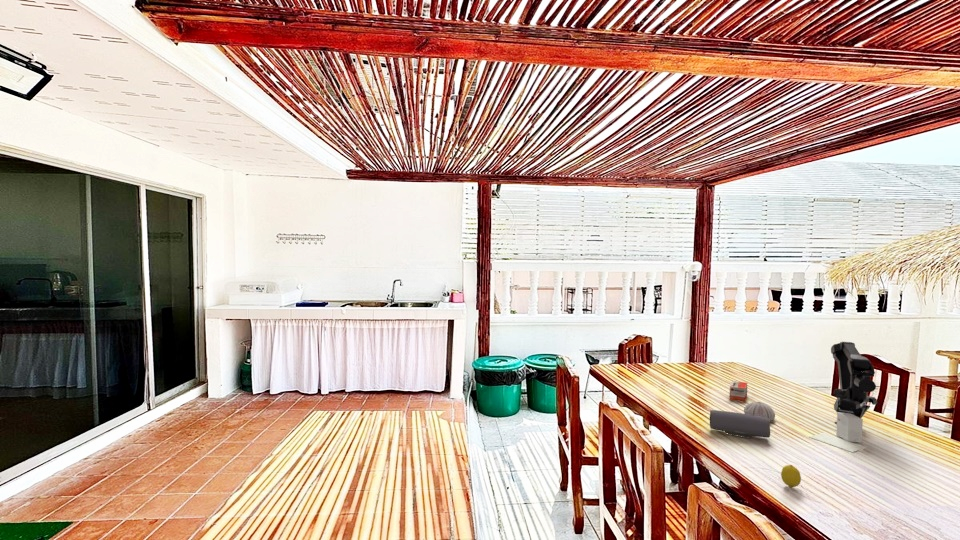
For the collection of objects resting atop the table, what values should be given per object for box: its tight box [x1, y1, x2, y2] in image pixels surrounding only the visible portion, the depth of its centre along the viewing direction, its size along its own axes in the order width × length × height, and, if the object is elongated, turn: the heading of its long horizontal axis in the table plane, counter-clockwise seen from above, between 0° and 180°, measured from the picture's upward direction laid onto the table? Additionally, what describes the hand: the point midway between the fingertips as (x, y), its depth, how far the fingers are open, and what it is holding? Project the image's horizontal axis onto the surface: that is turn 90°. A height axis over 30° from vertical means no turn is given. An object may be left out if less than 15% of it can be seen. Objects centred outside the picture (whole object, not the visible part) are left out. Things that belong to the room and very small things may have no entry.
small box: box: [836, 412, 864, 444], centre depth 187 cm, size 8×6×10 cm
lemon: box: [780, 464, 802, 489], centre depth 146 cm, size 6×6×8 cm
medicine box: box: [729, 380, 748, 403], centre depth 243 cm, size 15×8×8 cm, turn 145°
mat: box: [809, 432, 867, 453], centre depth 183 cm, size 11×16×1 cm
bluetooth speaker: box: [709, 409, 771, 439], centre depth 190 cm, size 23×9×10 cm, turn 65°
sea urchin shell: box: [743, 401, 776, 422], centre depth 212 cm, size 13×14×8 cm
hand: (857, 420), depth 189 cm, fingers closed
